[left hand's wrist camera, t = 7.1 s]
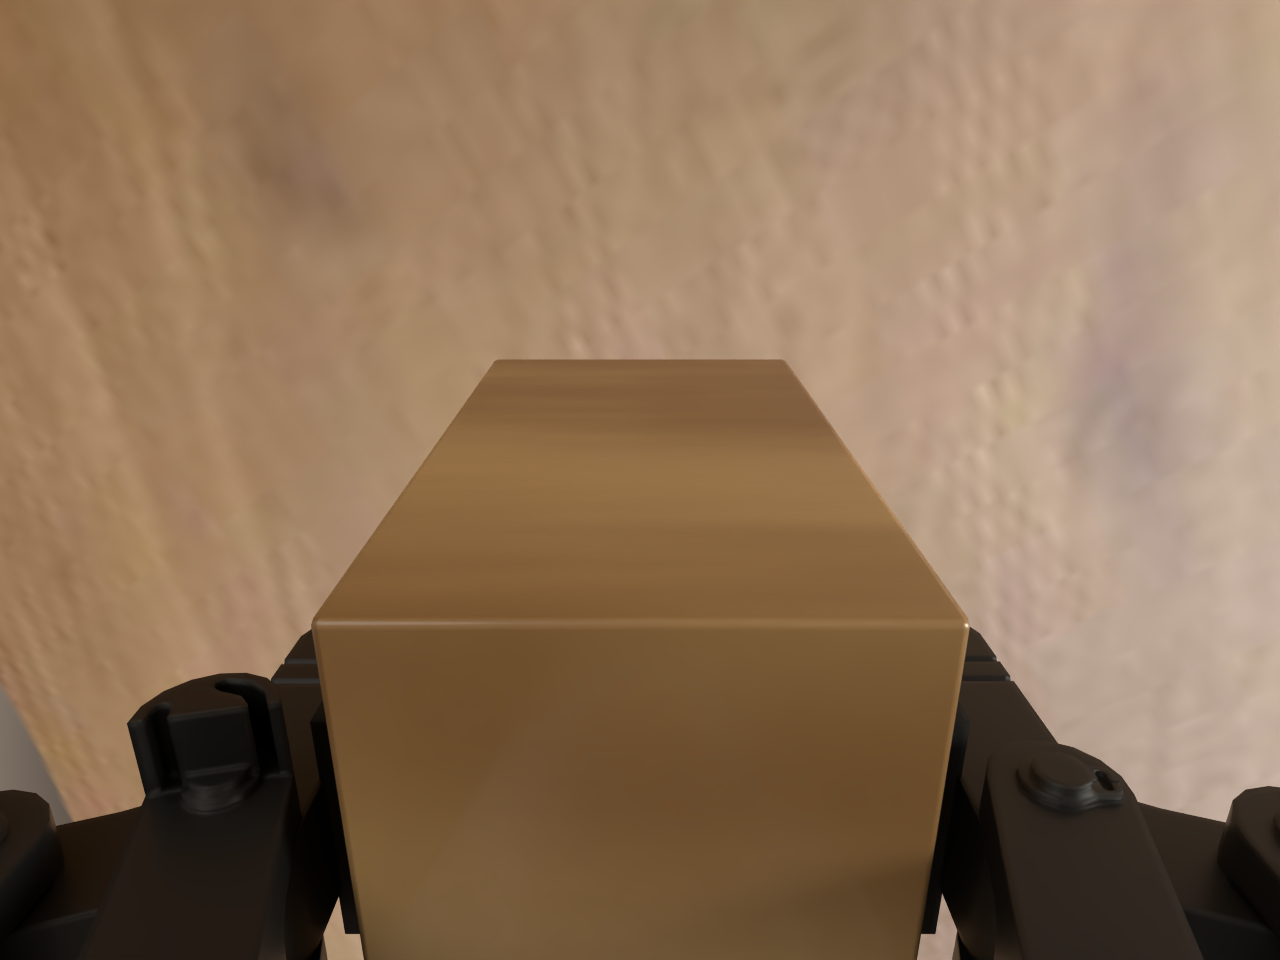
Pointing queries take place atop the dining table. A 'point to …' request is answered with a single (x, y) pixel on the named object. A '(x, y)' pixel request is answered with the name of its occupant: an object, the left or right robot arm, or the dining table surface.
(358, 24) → the dining table surface
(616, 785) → the bar
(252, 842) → the left robot arm
